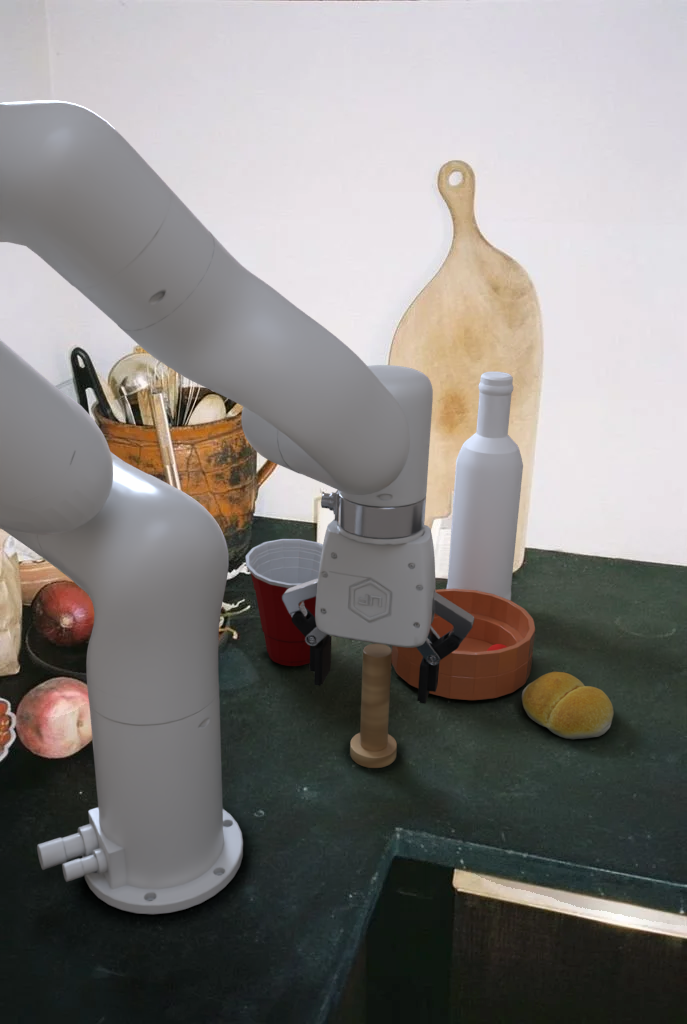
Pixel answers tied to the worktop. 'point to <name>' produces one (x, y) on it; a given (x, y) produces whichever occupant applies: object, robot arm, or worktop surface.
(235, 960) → the worktop surface
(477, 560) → the bottle
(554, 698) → the bread roll
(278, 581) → the plastic cup
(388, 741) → the muddler
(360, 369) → the robot arm
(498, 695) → the bowl
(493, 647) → the tomato
